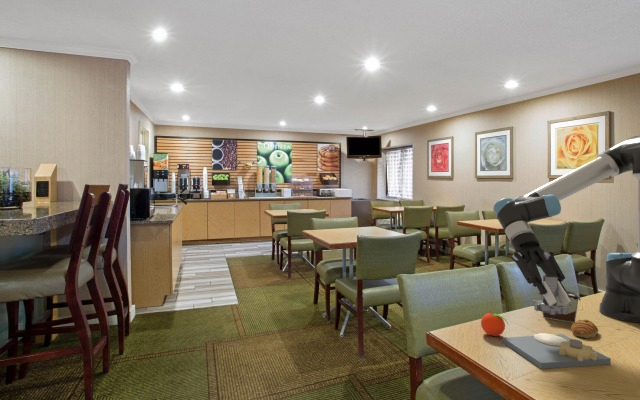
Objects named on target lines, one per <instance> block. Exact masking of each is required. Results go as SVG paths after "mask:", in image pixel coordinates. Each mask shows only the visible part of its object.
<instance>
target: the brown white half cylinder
mask: <svg viewBox="0 0 640 400" xmlns="http://www.w3.org/2000/svg"><path fill="white" fill-rule="evenodd" d="M538 292H539V293H538V296H540V300H543V294H541V293H540V291H538ZM566 294H567V295H568V297H569V299H570V300H571V302H569V303H568V304H567V305H566V306H565V307H567V308H568V314H555V315H551V314H549V313H544V312H542V318H544V319H548V320H549V319H550V320H554V319H555V321H560V320H562V321H561V322H566V321H568V322H567V323H572V322H573V323H572V324H574V323H575V322H576V320H577V319H576V317H577V312H578V304H579V302H581V297H580V294H579V293H577V292H575V291H572V290H569V289H566ZM557 302H559V303H561V301H560V300H559V298H558V296H557Z"/></svg>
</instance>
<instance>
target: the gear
mask: <svg viewBox="0 0 640 400" xmlns="http://www.w3.org/2000/svg"><path fill="white" fill-rule="evenodd" d="M543 281H546V283H547V285H548V287H549V288H550V290H551V292H552V293H553V295H554V297H555V299H556V300H557V282H558V277H555V276H549V275H546V274H544V275H543V276H542V282H543ZM532 307H534V311H536V312H541V313H543V312H544V313H549V314H551V315H555V314H568V308H567V307H565V306H563V305H562V303H559V302H556V303H555V304H554V305H553V306H549V304H548V303H547V301H546V299H545V297H544V295H543V300H541V299H538V300H537V299H532Z"/></svg>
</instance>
